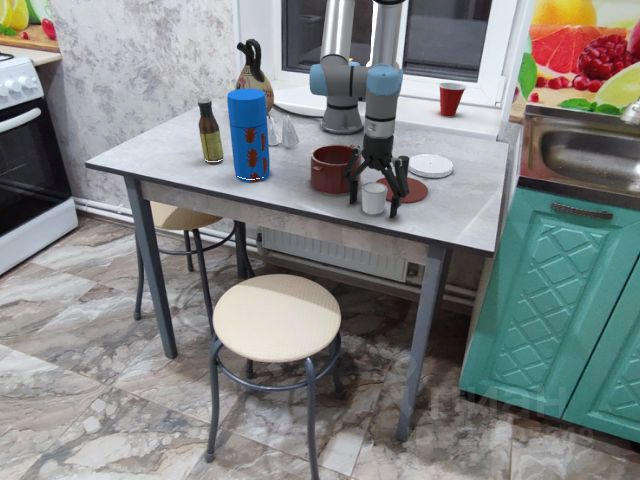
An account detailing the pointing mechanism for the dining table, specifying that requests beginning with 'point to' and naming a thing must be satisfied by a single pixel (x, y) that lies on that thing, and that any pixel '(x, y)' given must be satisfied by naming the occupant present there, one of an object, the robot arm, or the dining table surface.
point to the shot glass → (373, 197)
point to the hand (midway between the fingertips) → (372, 210)
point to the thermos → (249, 134)
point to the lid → (415, 186)
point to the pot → (332, 168)
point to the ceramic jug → (254, 72)
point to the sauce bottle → (209, 133)
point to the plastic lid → (430, 166)
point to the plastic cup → (450, 98)
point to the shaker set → (288, 133)
